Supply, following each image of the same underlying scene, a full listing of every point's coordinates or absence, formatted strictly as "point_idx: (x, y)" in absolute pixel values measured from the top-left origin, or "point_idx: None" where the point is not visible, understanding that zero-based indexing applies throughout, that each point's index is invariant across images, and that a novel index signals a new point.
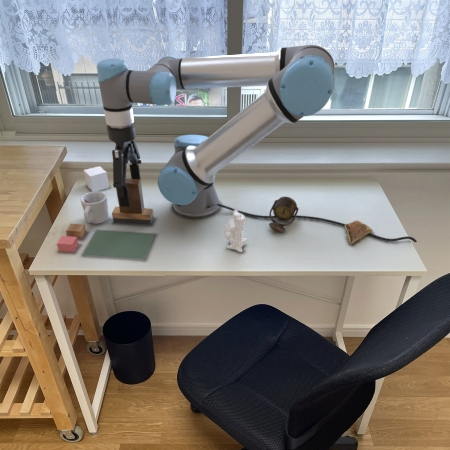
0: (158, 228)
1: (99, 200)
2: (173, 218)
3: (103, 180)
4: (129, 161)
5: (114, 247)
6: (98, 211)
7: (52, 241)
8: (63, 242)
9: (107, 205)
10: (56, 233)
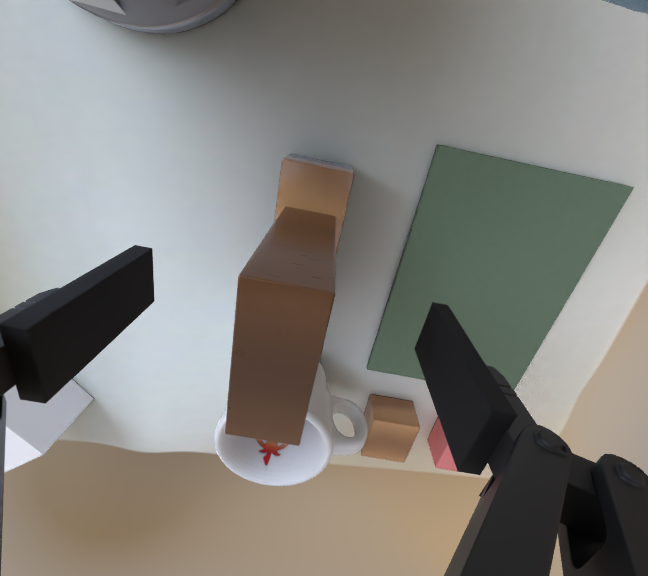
0: (380, 126)
1: None
2: (287, 35)
3: None
4: (5, 432)
5: (499, 308)
6: (326, 400)
7: (402, 464)
8: None
9: None
10: (360, 460)
